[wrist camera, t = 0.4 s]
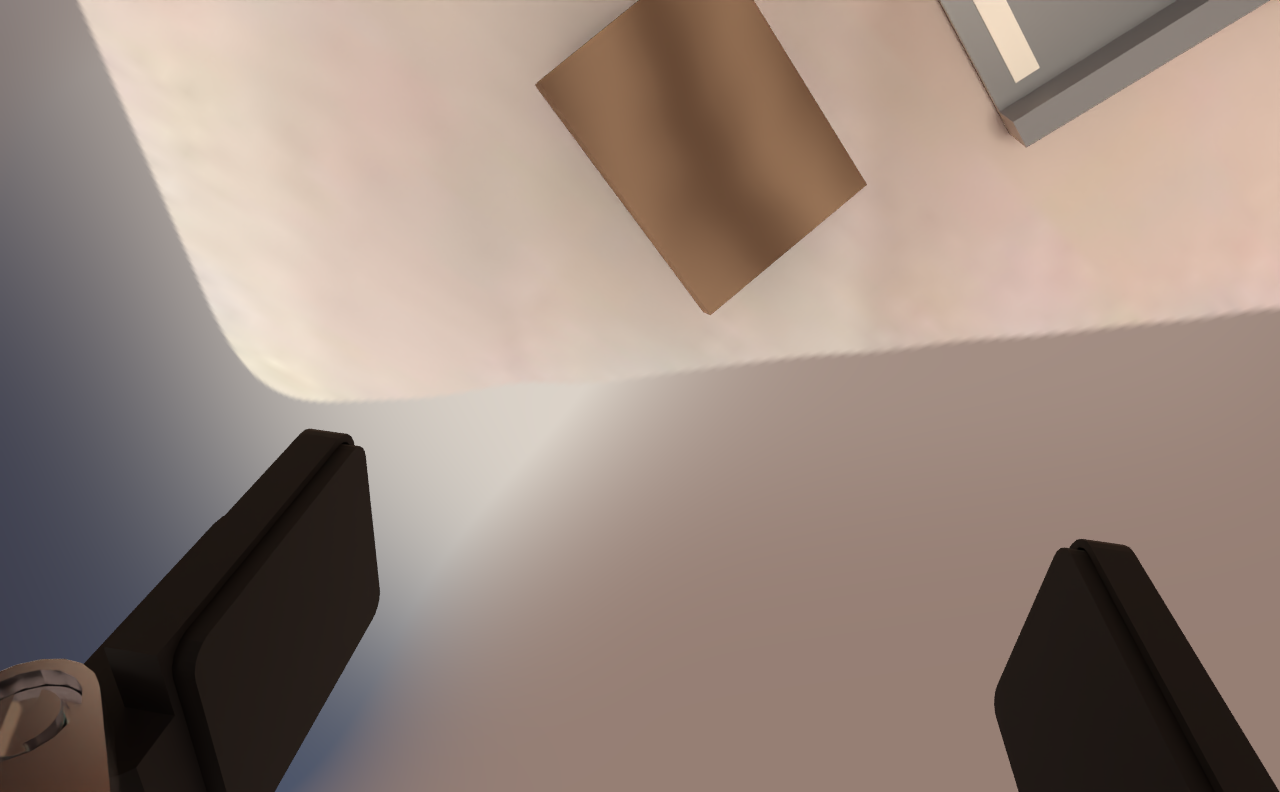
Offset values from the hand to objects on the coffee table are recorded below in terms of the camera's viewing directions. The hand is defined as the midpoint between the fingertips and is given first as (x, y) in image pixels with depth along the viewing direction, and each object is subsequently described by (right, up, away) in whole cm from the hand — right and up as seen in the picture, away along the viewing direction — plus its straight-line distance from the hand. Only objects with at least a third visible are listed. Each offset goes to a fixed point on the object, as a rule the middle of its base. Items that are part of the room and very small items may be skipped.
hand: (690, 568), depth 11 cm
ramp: (+3, +14, +25) cm, 29 cm away
